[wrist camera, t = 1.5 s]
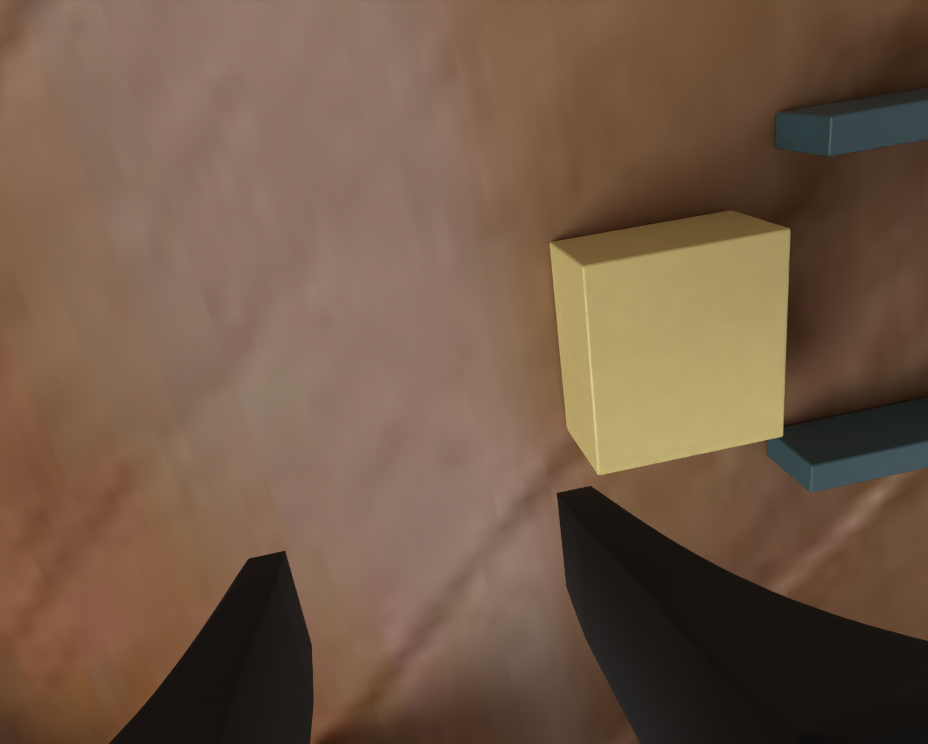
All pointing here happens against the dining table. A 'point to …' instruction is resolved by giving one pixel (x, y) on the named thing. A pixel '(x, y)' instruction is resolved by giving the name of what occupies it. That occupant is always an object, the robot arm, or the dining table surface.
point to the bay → (878, 429)
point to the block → (672, 337)
